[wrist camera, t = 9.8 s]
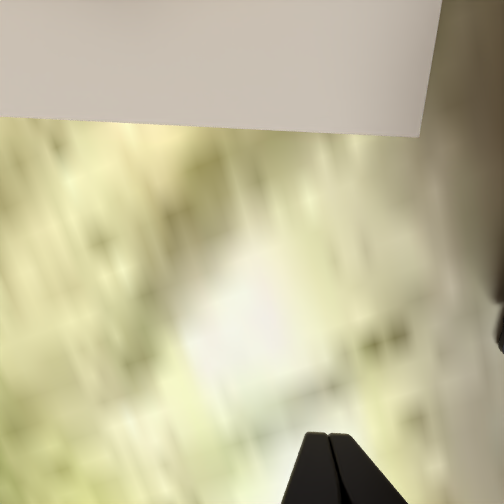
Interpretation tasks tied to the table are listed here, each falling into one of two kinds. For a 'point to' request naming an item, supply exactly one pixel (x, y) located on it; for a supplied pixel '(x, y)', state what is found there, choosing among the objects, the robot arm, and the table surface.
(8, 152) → the table surface
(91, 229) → the table surface
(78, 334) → the table surface
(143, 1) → the grey rubber mat
